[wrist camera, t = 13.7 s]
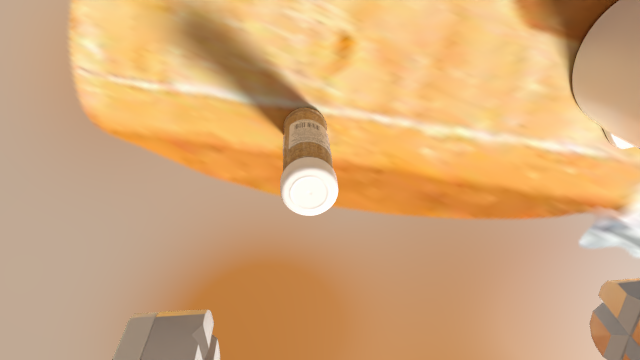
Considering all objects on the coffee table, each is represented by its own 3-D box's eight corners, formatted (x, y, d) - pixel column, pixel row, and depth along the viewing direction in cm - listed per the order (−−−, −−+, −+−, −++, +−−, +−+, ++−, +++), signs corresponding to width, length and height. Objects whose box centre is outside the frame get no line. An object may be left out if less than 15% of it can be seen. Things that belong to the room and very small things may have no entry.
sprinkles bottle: (277, 138, 48) (272, 208, 36) (292, 99, 46) (291, 159, 34) (318, 152, 49) (325, 224, 37) (334, 114, 47) (348, 178, 35)
